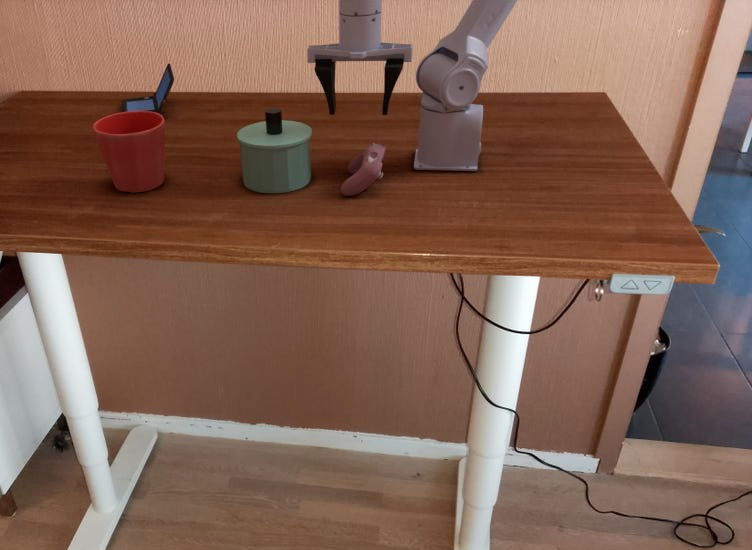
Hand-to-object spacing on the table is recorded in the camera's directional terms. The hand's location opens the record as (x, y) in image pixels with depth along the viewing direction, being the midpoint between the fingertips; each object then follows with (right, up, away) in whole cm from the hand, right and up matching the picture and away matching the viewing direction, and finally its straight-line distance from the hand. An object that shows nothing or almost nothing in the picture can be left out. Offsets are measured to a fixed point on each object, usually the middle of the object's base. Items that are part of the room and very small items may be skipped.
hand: (358, 112), depth 106 cm
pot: (-12, -9, +5) cm, 16 cm away
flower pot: (-34, -9, +7) cm, 35 cm away
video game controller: (+1, -10, +2) cm, 11 cm away
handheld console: (-37, +13, +38) cm, 54 cm away
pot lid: (-12, -3, +1) cm, 13 cm away
